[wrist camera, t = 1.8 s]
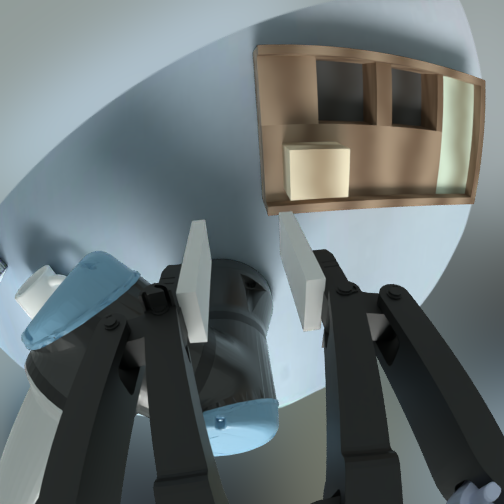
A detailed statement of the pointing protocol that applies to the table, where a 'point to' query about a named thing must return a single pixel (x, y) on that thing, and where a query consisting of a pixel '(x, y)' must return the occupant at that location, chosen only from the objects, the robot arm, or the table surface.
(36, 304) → the mug
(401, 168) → the track
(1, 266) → the ink box
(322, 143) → the block
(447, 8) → the table surface
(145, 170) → the table surface
